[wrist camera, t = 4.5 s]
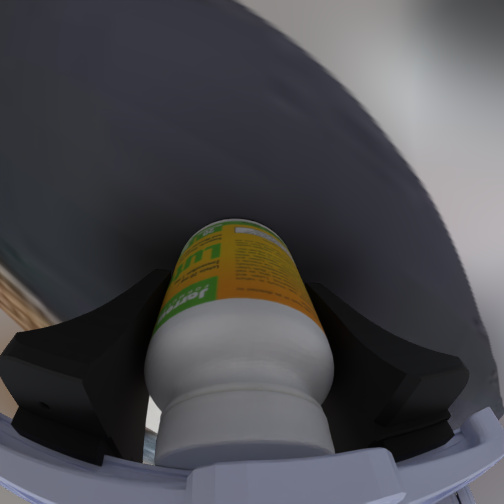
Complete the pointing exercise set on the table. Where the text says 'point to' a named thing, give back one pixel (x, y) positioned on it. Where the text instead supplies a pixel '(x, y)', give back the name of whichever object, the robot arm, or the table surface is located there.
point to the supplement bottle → (238, 354)
